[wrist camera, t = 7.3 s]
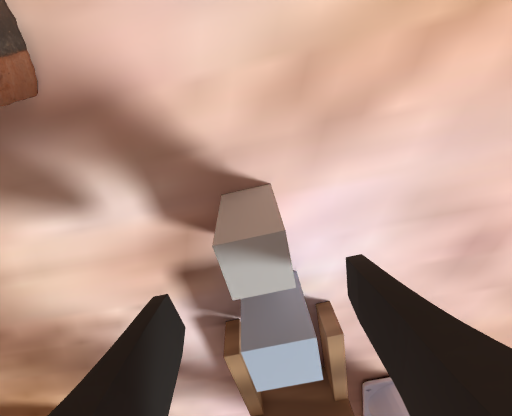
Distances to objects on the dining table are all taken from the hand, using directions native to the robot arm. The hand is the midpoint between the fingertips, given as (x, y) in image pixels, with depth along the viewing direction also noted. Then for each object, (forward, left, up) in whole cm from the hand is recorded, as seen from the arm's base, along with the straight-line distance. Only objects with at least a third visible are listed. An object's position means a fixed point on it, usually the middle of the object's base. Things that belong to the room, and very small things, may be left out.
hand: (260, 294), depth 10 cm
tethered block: (-4, 0, -7) cm, 8 cm away
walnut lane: (-15, 0, -7) cm, 17 cm away
